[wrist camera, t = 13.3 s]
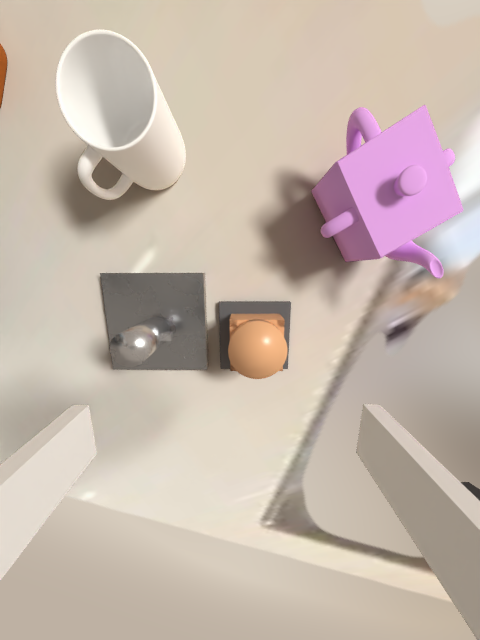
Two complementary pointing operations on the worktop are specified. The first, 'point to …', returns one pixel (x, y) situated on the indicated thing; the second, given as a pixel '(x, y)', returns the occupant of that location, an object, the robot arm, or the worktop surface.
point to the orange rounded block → (2, 71)
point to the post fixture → (156, 320)
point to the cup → (118, 113)
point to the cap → (257, 344)
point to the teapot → (388, 190)
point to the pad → (249, 308)
